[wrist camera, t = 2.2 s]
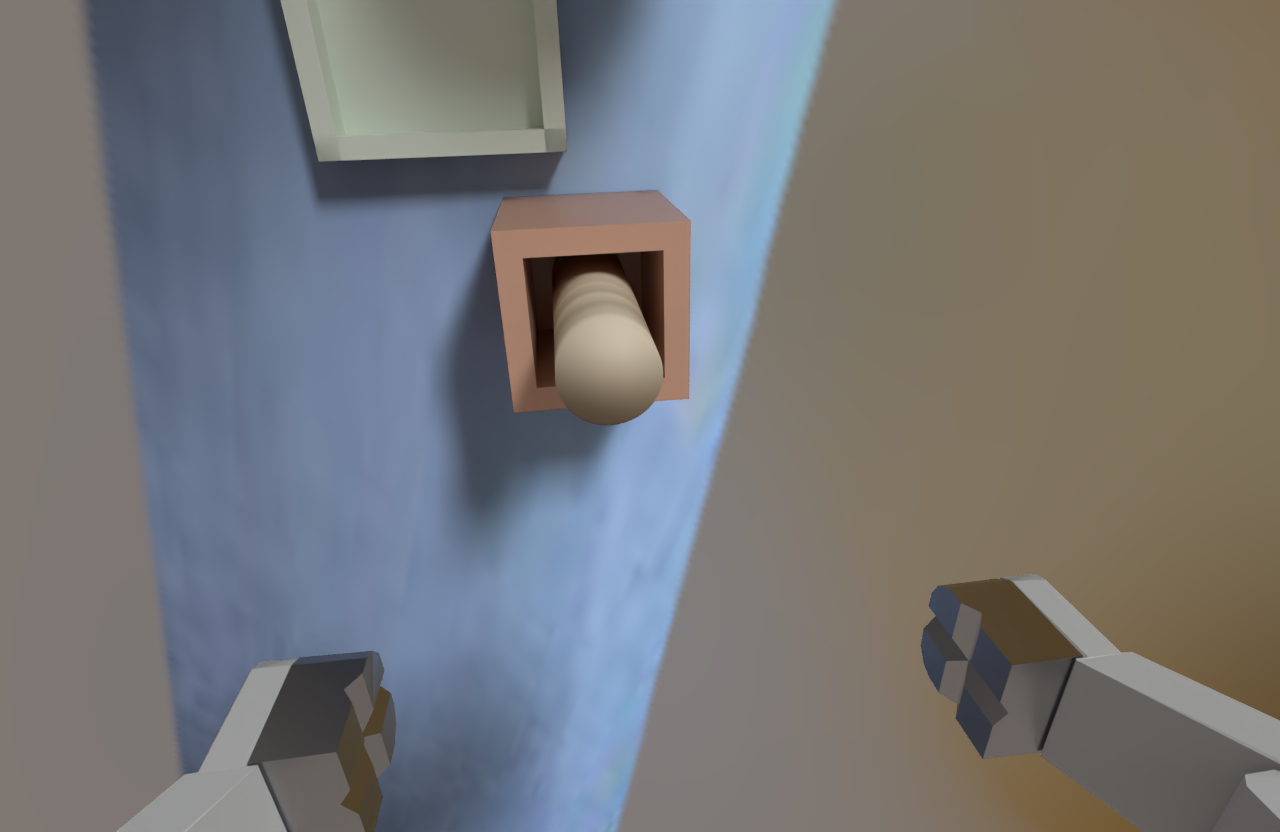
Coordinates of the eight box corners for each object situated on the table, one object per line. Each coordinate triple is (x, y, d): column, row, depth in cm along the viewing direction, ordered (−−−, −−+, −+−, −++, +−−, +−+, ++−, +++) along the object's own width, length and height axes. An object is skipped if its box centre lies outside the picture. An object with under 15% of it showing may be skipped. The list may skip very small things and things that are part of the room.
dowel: (549, 241, 27) (550, 329, 17) (621, 237, 27) (662, 321, 17) (555, 311, 28) (559, 429, 18) (623, 306, 28) (663, 420, 19)
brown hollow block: (503, 197, 27) (490, 231, 20) (657, 190, 27) (690, 220, 21) (520, 344, 30) (514, 412, 23) (659, 334, 30) (689, 398, 24)
